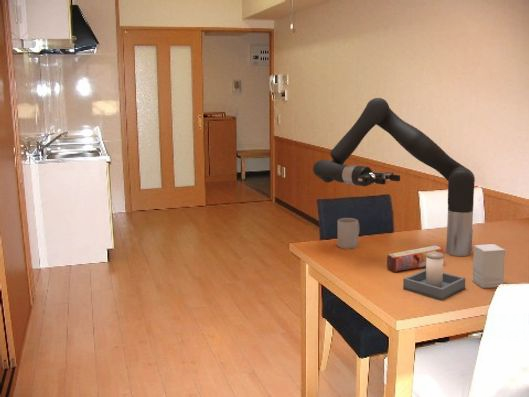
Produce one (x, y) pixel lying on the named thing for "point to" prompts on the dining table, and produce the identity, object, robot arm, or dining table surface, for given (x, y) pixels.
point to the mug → (348, 233)
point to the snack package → (410, 258)
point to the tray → (449, 286)
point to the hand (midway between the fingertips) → (392, 179)
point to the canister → (434, 269)
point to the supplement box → (488, 265)
